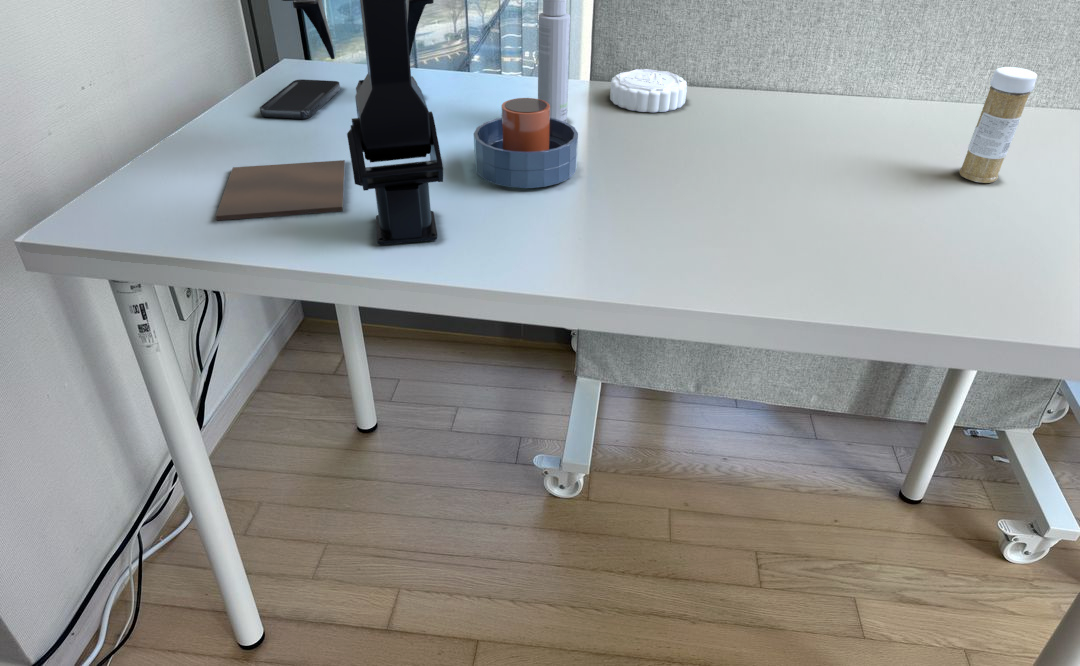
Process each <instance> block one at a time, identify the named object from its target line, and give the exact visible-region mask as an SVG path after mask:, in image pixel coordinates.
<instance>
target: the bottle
mask: <svg viewBox="0 0 1080 666" xmlns="http://www.w3.org/2000/svg"><path fill="white" fill-rule="evenodd" d="M537 23H538V29H537V30H538V31H537V37H538V38H537V40H538V43H537V46H538V47H537V55H538V56H537V63H538V64H537V99H540V100H543V101H546V102H548V103H549V104H550V118H554V119H558V120H561V121H564V122H566V123H568V99H569V70H570V69H569V67H570V66H569V65H570V40H571V39H570V35H571V33H570V32H571V15H570V14H569V13H568V12H567V0H542V12H540V13H539V14H538V22H537Z"/></svg>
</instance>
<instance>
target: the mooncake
mask: <svg viewBox="0 0 1080 666" xmlns="http://www.w3.org/2000/svg"><path fill="white" fill-rule="evenodd" d="M687 90H688V82H687V81H686V80H685V79H684V78H683V77H681V76H679V75H678V74H676V73H672V72H670V71H666V70H665V71H664V70H656V69H650V68H645V69H644V68H643V69H641V68H640V69H639V68H636V69H633V70H629V71H623V72H619V73H618V74H615V76H613V77H612V78H611V80H610V92H609V93H610V94H609V99H610V101H611V102H612V104H613V105H615V106H618V107H619V108H622V109H626V110H628V111H633V112H635V111H636V112H639V113H650V114H651V113H655V114H656V113H666V112H669V111H670V112H671V111H675V110H676V109H680V108H681V107H683V105H685V103H686V100H687V99H686V98H687Z"/></svg>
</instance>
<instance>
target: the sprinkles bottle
mask: <svg viewBox="0 0 1080 666" xmlns="http://www.w3.org/2000/svg"><path fill="white" fill-rule="evenodd" d="M1037 79H1038V74H1037V73H1036V72H1034V71H1032V70H1030V69H1027V68H1022V67H1015V66H1002V67H998V68H996V69H995V70H994V72H993V74H992V77H991V79H990V83H989V85H990V86H989V91H988V93H987V95H986V99H985V101H984V104H983V107H982V110H981V112H980V115H979V117H978V120H977V123H976V125H975V127H974V131H973V133H972V136H971V138H970V141H969V144H968V147H967V152H966V154H965V157H964V160H963V163H962V165H961V167H960V168H959V170H958V171H959V175H960V177H962V178H965V179H966V180H968V181H971V182H975V183H980V184H989V183H994V182H996V181H997V180H998V178H999V172H1000V170H1001V168H1002V165H1003V163H1004V160H1005V158H1006V157H1007V155H1008V152H1009V148H1010V147H1011V144H1012V142H1013V139H1014V137H1015V134H1016V131H1017V129H1018V127H1019V123H1020V121H1021V118H1022V115H1023V111H1024V109H1025V106H1026V103H1027V101H1028V99H1029V96H1030V95H1031V93H1032V92H1033V90H1034V88H1035V86H1036V82H1037Z"/></svg>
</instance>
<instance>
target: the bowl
mask: <svg viewBox="0 0 1080 666" xmlns="http://www.w3.org/2000/svg"><path fill="white" fill-rule="evenodd" d="M578 143H579V132H578V130H577V129H576V127H574V126H573V125H571V124H570V123H568V122H564V121H561V120H558V119H554V118H550V149H549V150H544V151H531V152H522V151H509V150H504V149H502V117H497V118H493V119H490V120H488V121H485V122H483V123H481V124H480V125H479V126H477V127H476V128H475V130H474V132H473V150H474V152H473V153H474V168H475V171H476V174H477V175H478V176H479V177H481V178H482V179H483V180H485V181H486V182H489V183H492V184H495V185H497V186H503V187H507V188H519V189H520V188H521V189H534V188H545V187H549V186H553V185H558V184H561V183H562V182H565V181H567V180H570V178H572V176H574V175H575V174H576V171H577V166H578V148H579V146H578V145H579V144H578Z"/></svg>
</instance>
